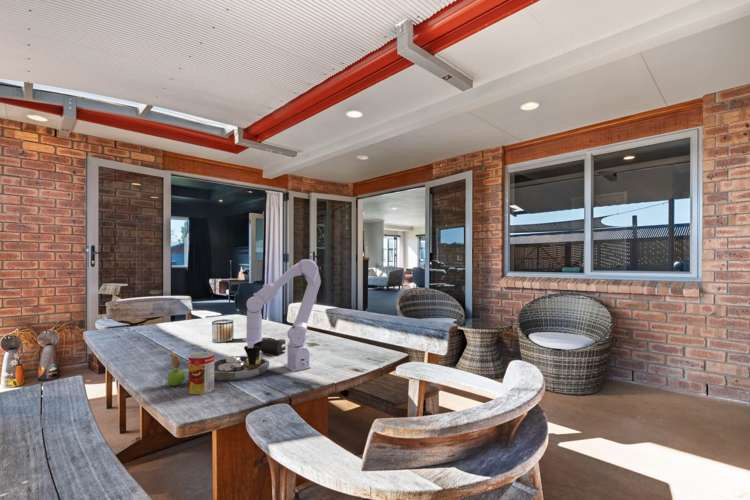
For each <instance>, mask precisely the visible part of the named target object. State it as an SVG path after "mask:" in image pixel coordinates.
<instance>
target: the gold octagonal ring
mask: <svg viewBox="0 0 750 500" xmlns="http://www.w3.org/2000/svg"><path fill="white" fill-rule="evenodd" d="M259 357H260V356H259ZM259 357H257V358H256V363H255V365H249V361H248V359H246V368H250V369H252V368H258V367H260V366H261V358H259Z"/></svg>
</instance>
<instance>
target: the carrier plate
mask: <svg viewBox="0 0 750 500" xmlns="http://www.w3.org/2000/svg"><path fill="white" fill-rule="evenodd" d="M259 358H261V366H260V367H258V368H252V369H250V368H246V359H248V356H247V355H238V356H237V355H232V356H227V357H225V358H220V359H217V360H214V381H220V382H237V381H242V380H243V381H244V380H248V379H253V378H257V377H259V376H261V375H263V374H265V373H266V372H267V371H268V368H269V367H270V361H269V360H267V359H266V358H264V357H263V356H259Z"/></svg>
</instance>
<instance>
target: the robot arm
mask: <svg viewBox="0 0 750 500" xmlns="http://www.w3.org/2000/svg"><path fill="white" fill-rule="evenodd" d="M299 276H303V277H304V278H305V280H306V282H307V285H306V289H305V291H304V294H303V298H302V300H301V303H300V307H299V309H298V312H297V315H296V318H295V320H294V321H293V324H292V326H291V327H290V328H289V329H288V331H287V338H288V339H289V341H288V343H287V363H284V364H283V367H284V368H287V369H288V370H291V371H292V372H295V371H301V370H305V369H310V368H312V366H311V365H310V351H309V349H308V348H307V346H306V345H307V344H306V340H307V335H306V333H307V329H308V322H309V318H310V316H311V313H312V309H313V307H314V303H315V302H316V301H315V300H316V298H317V295H318V292H319V289H320V287H321V283H322V280H321V275H320V271H319V267H318V265H317V264H316V262H315V260H312V259H308V258H304V259H301V260H299V262H297V263H295V264H294V265H292V266H290V268H289V269H287V270H286V271H285V272H284V273H282V275H280V276H279V277H278V278H277V279H276V280H275V281H274V282H271V283H270V282H269V283H267V284H266V283H265V284H262V288H261V289H260V290H258V291H257V292H254V293H253V294H252V295H253V296H251V297H249V298H248V299H247V300H246V304H245V306H246V308H247V311H246V329H245V330H246V333H245V334H246V335H245V336H246V337H245V338H243V339H242V341H243V342H246V344H247V345H245V346H244V347H243V350H244V352H245V353H246V356H248V361H249V365H255V363H256V358H257V357H260V353H261V351H260V349H261V346H262V344H263V341H262V339H263V336H262V335H263V334H262V333H263V332H262V331H263V328H262V326H263V323H262V322H263V317H262V316H263V315H262V309H263V306H264V305H267V304H268V303H269V302H270V301H271V300H273V299H274V298H275V297H276V296H277V295H278V294H279V289H280V288H282V287H283V286H284V285H286V284H287V283H288V282H289V281H290V280H291V279H293V278H294V277H299Z"/></svg>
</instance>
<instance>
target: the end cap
mask: <svg viewBox="0 0 750 500" xmlns="http://www.w3.org/2000/svg"><path fill="white" fill-rule="evenodd" d="M262 341H263V344H262V346H261V349H260V353H261V352H262V354H265V355H267V354H268V355H277V356H281V355H284V354H285V353H286V351H285V350H286V346H283V345H285V344H286V342H287V341H286V339H283V338H282V339H281V338H280V339H276V338H272V337H270V338H262Z"/></svg>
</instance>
